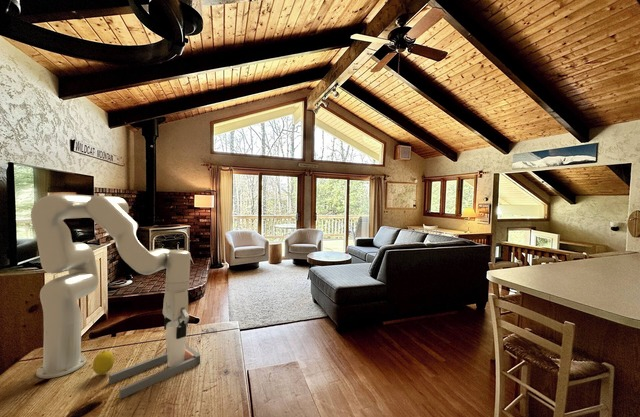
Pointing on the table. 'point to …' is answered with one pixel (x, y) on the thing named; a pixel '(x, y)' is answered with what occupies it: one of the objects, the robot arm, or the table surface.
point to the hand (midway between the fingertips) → (174, 332)
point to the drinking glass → (174, 344)
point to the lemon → (103, 362)
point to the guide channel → (191, 361)
